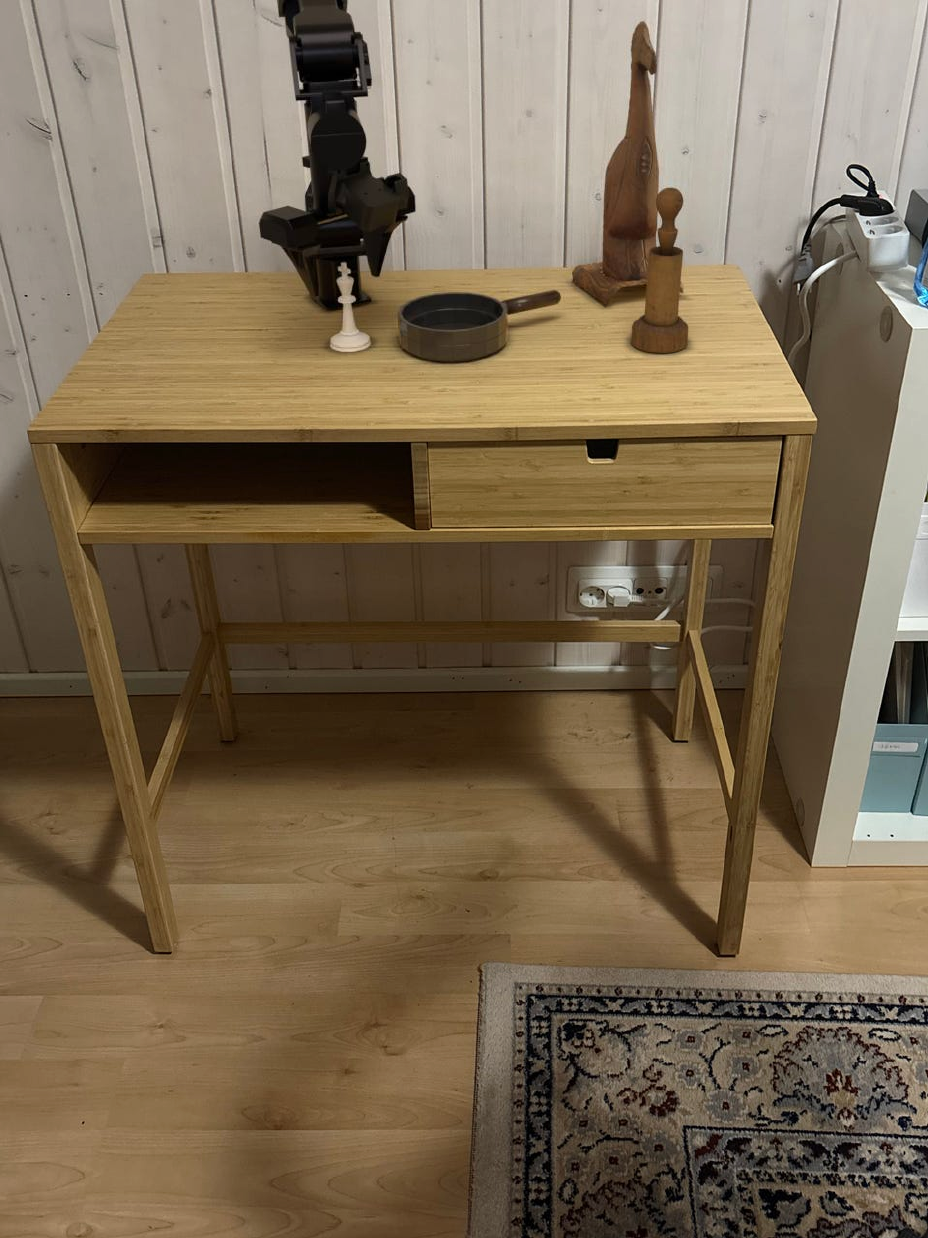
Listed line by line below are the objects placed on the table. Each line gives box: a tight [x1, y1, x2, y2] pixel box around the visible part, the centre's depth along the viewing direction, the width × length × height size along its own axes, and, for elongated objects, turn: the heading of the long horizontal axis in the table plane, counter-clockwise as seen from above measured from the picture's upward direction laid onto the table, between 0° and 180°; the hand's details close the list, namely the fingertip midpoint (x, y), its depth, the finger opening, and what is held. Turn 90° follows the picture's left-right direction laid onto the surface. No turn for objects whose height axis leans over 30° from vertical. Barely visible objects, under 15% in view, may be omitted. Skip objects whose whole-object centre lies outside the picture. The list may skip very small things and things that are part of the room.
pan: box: [397, 291, 509, 363], centre depth 141 cm, size 13×13×4 cm
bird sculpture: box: [571, 20, 684, 305], centre depth 147 cm, size 11×12×32 cm
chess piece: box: [329, 262, 372, 353], centre depth 140 cm, size 5×5×10 cm
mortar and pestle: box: [630, 187, 689, 354], centre depth 136 cm, size 7×6×18 cm
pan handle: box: [494, 289, 562, 316], centre depth 145 cm, size 9×2×2 cm, turn 118°
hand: (345, 286), depth 139 cm, fingers open, 9 cm apart
